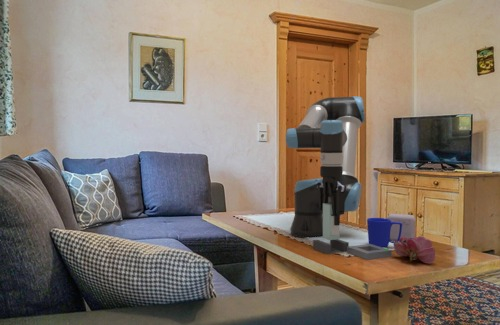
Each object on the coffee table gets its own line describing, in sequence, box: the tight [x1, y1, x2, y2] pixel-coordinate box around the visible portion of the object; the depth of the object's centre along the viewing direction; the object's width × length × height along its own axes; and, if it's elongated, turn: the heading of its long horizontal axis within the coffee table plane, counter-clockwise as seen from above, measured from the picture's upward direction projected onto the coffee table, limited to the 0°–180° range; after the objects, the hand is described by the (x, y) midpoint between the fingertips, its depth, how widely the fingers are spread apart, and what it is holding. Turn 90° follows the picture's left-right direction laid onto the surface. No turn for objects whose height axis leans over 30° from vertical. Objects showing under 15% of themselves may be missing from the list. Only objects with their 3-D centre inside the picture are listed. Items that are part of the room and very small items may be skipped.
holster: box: [312, 238, 350, 255], centre depth 135 cm, size 8×9×4 cm
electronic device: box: [386, 213, 416, 241], centre depth 153 cm, size 10×5×10 cm, turn 63°
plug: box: [322, 197, 340, 241], centre depth 135 cm, size 4×4×14 cm
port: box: [346, 243, 393, 261], centre depth 129 cm, size 10×10×3 cm
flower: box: [392, 235, 436, 265], centre depth 123 cm, size 11×10×10 cm
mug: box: [366, 217, 402, 249], centre depth 142 cm, size 8×12×10 cm
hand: (330, 233), depth 135 cm, fingers closed on plug, 4 cm apart
